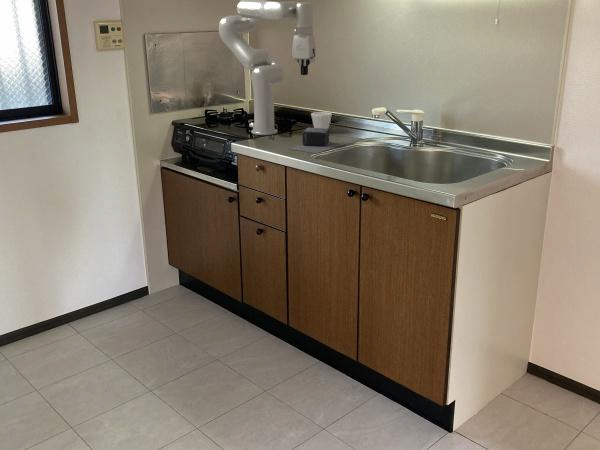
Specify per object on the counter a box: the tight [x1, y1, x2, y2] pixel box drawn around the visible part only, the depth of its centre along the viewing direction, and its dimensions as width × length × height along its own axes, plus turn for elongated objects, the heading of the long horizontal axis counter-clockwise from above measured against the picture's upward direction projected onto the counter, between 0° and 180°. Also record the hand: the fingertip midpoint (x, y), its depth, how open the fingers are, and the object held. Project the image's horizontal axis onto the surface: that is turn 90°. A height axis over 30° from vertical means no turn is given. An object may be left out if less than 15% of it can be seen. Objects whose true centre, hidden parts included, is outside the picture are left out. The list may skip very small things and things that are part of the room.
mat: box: [290, 141, 346, 155], centre depth 273 cm, size 14×22×1 cm, turn 143°
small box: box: [302, 127, 330, 146], centre depth 277 cm, size 11×6×10 cm
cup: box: [310, 111, 333, 129], centre depth 303 cm, size 10×10×9 cm
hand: (304, 74), depth 279 cm, fingers closed
